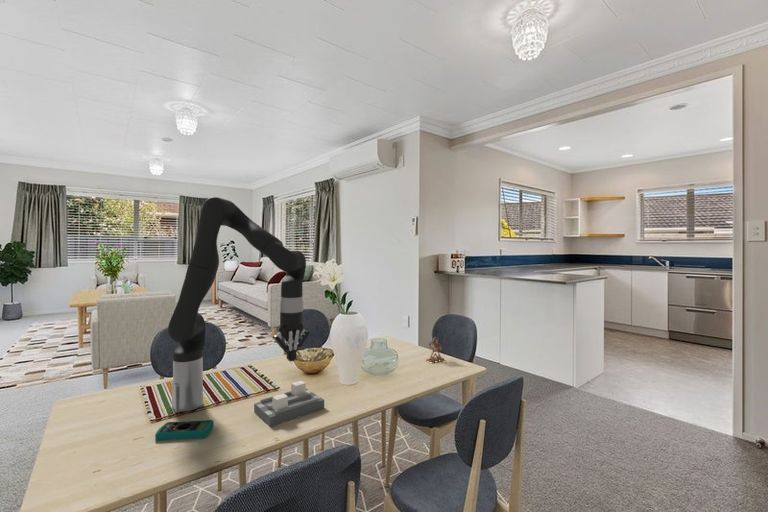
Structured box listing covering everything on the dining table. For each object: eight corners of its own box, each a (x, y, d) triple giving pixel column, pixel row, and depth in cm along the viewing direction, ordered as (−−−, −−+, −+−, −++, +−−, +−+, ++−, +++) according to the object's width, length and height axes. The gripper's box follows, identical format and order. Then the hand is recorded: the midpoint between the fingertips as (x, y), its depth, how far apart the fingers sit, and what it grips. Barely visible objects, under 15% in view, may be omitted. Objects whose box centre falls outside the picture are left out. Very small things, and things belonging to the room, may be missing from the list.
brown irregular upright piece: (439, 358, 183) (439, 335, 183) (444, 360, 180) (445, 336, 179) (425, 361, 178) (426, 337, 178) (430, 363, 175) (431, 339, 175)
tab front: (276, 411, 116) (276, 399, 116) (272, 408, 119) (272, 396, 119) (287, 408, 119) (287, 396, 119) (283, 404, 121) (283, 393, 121)
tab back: (295, 396, 128) (295, 385, 128) (291, 394, 130) (291, 383, 130) (305, 393, 130) (305, 383, 130) (301, 391, 133) (301, 380, 133)
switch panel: (270, 426, 113) (270, 414, 113) (254, 412, 123) (254, 400, 123) (324, 408, 126) (324, 397, 126) (306, 396, 136) (306, 385, 136)
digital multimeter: (165, 429, 112) (164, 420, 112) (214, 427, 114) (214, 418, 114) (152, 442, 105) (152, 433, 104) (206, 439, 106) (206, 430, 106)
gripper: (303, 306, 128) (303, 354, 128) (268, 310, 119) (267, 361, 119) (314, 309, 122) (314, 359, 122) (277, 313, 113) (277, 367, 114)
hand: (291, 360), depth 121 cm, fingers closed
